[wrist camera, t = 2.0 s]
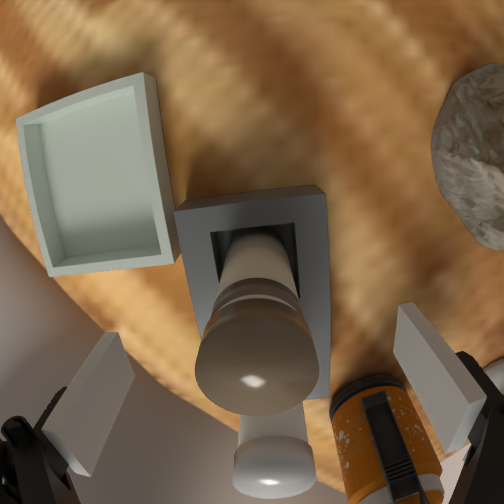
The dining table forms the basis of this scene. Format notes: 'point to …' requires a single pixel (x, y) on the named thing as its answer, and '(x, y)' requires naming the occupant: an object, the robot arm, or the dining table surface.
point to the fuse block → (296, 242)
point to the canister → (384, 445)
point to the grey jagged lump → (473, 153)
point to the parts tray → (100, 179)
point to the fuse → (274, 455)
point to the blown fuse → (257, 331)
